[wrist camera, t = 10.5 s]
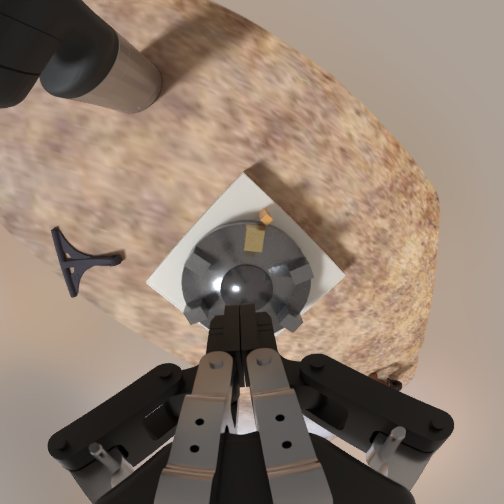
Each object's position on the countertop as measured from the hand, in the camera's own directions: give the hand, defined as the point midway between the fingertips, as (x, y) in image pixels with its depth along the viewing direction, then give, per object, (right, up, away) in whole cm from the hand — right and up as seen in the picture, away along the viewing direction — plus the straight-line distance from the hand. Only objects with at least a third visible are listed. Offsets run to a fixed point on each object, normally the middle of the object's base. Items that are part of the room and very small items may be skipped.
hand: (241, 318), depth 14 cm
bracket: (-30, +2, +32) cm, 44 cm away
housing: (-1, 0, +33) cm, 33 cm away
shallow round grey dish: (0, -1, +31) cm, 30 cm away
